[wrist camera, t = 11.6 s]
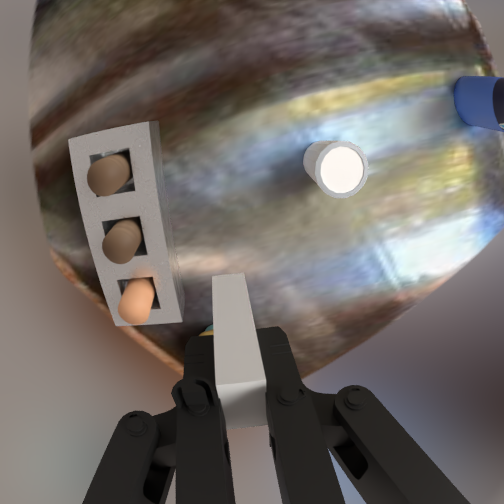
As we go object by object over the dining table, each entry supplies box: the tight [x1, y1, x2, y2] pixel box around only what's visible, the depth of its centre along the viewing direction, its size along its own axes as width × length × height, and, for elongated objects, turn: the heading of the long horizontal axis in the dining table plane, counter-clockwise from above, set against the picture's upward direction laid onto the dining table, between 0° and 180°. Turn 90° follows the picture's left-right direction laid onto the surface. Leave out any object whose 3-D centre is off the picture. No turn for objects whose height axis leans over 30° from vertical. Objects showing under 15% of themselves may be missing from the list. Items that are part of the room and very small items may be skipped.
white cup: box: [303, 141, 369, 198], centre depth 35 cm, size 7×7×7 cm
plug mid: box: [102, 216, 144, 264], centre depth 34 cm, size 4×4×7 cm
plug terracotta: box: [118, 277, 156, 325], centre depth 37 cm, size 4×4×7 cm
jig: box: [68, 121, 185, 326], centre depth 36 cm, size 26×10×6 cm, turn 3°
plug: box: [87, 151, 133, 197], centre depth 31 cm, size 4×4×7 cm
